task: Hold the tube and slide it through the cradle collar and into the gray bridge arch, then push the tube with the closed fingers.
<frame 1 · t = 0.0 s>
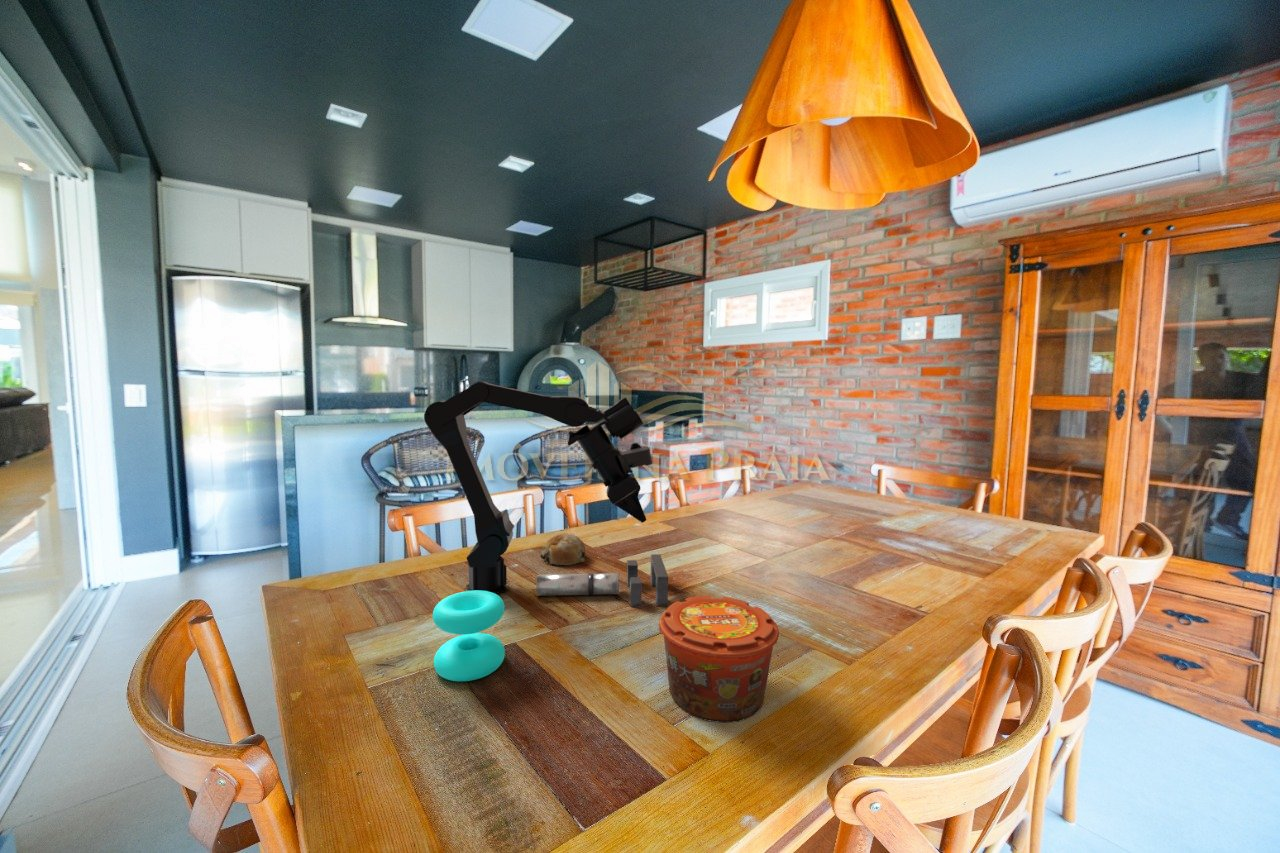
hand: (641, 515, 106), 15 cm above the table, tool tilted 35°, fingers open, 9 cm apart
donuts: (470, 667, 76), on the table
tube: (578, 594, 102), on the table
cradle collar: (633, 592, 103), on the table
food container: (716, 694, 71), on the table
gray bridge arch: (658, 592, 104), on the table
bread roll: (563, 560, 122), on the table
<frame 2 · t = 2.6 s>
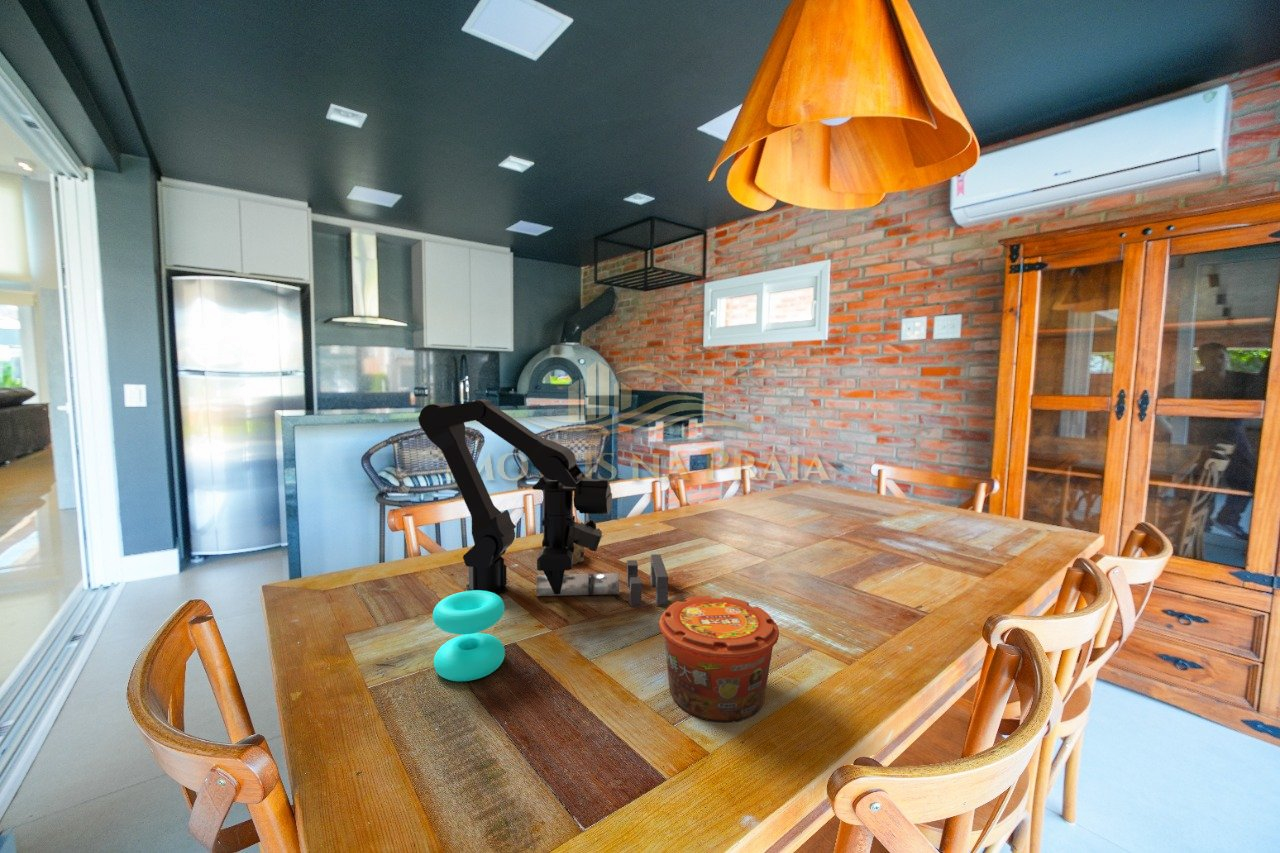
hand: (558, 589, 102), 1 cm above the table, tool pointing down, fingers closed on tube, 4 cm apart
tube: (578, 594, 102), on the table, touching gripper
everything else where it was.
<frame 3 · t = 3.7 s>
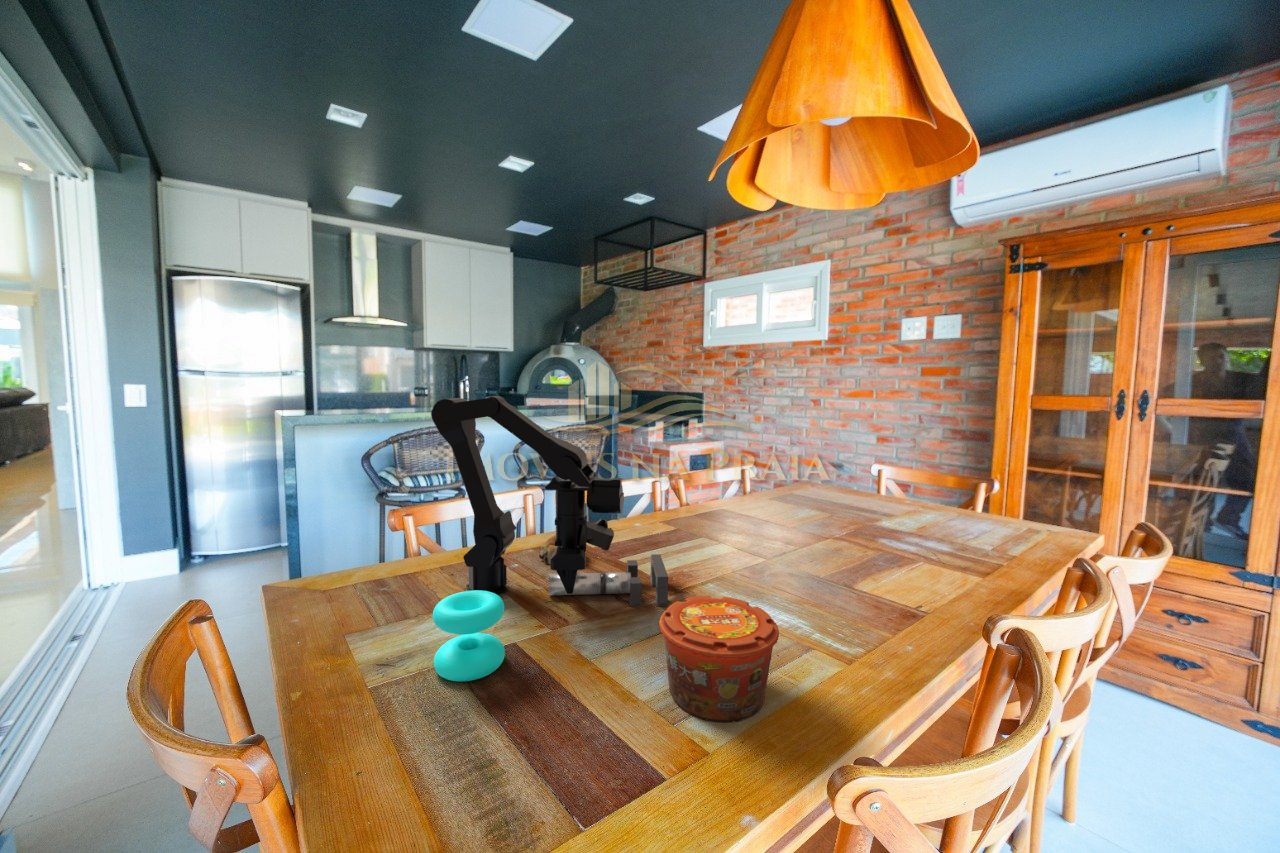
hand: (570, 589, 102), 1 cm above the table, tool pointing down, fingers closed on tube, 4 cm apart
tube: (590, 593, 103), on the table, touching gripper
everything else where it was.
when the fingers open (1 cm above the table, at t = 5.1 s): tube stays where it is, on the table.
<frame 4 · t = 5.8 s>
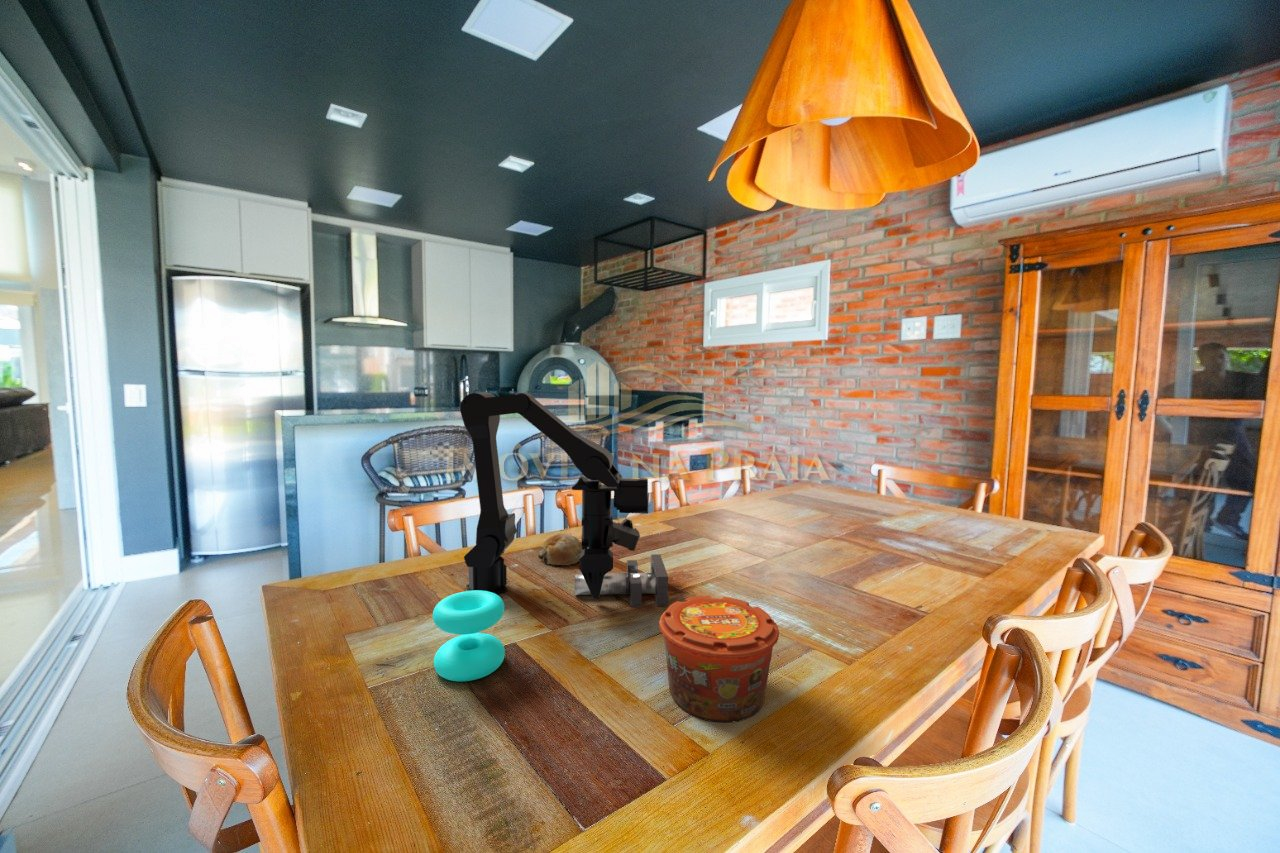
hand: (596, 588, 103), 1 cm above the table, tool pointing down, fingers open, 9 cm apart
tube: (615, 593, 103), on the table
everything else where it was.
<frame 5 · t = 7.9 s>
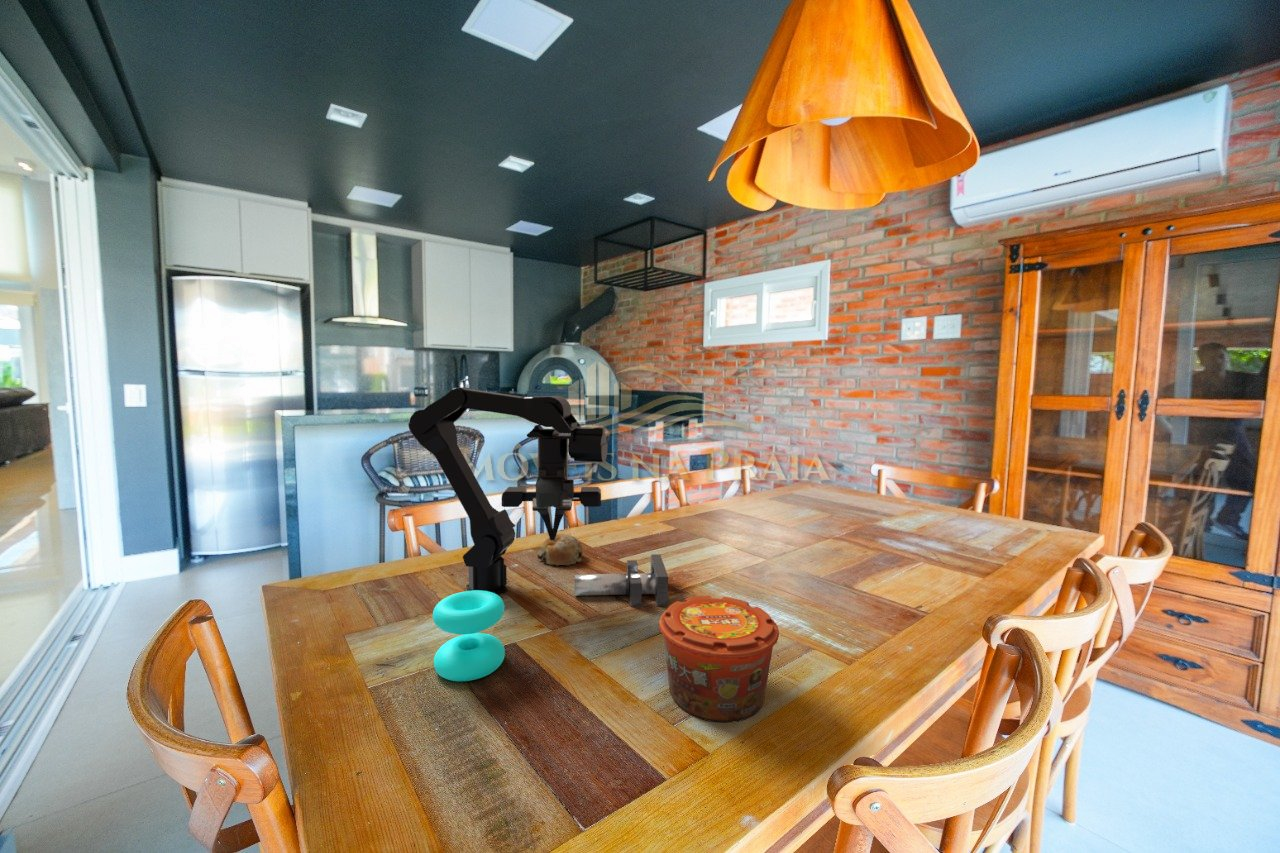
hand: (552, 539, 101), 11 cm above the table, tool pointing down, fingers closed
tube: (615, 593, 103), on the table, tilted 10°
everything else where it was.
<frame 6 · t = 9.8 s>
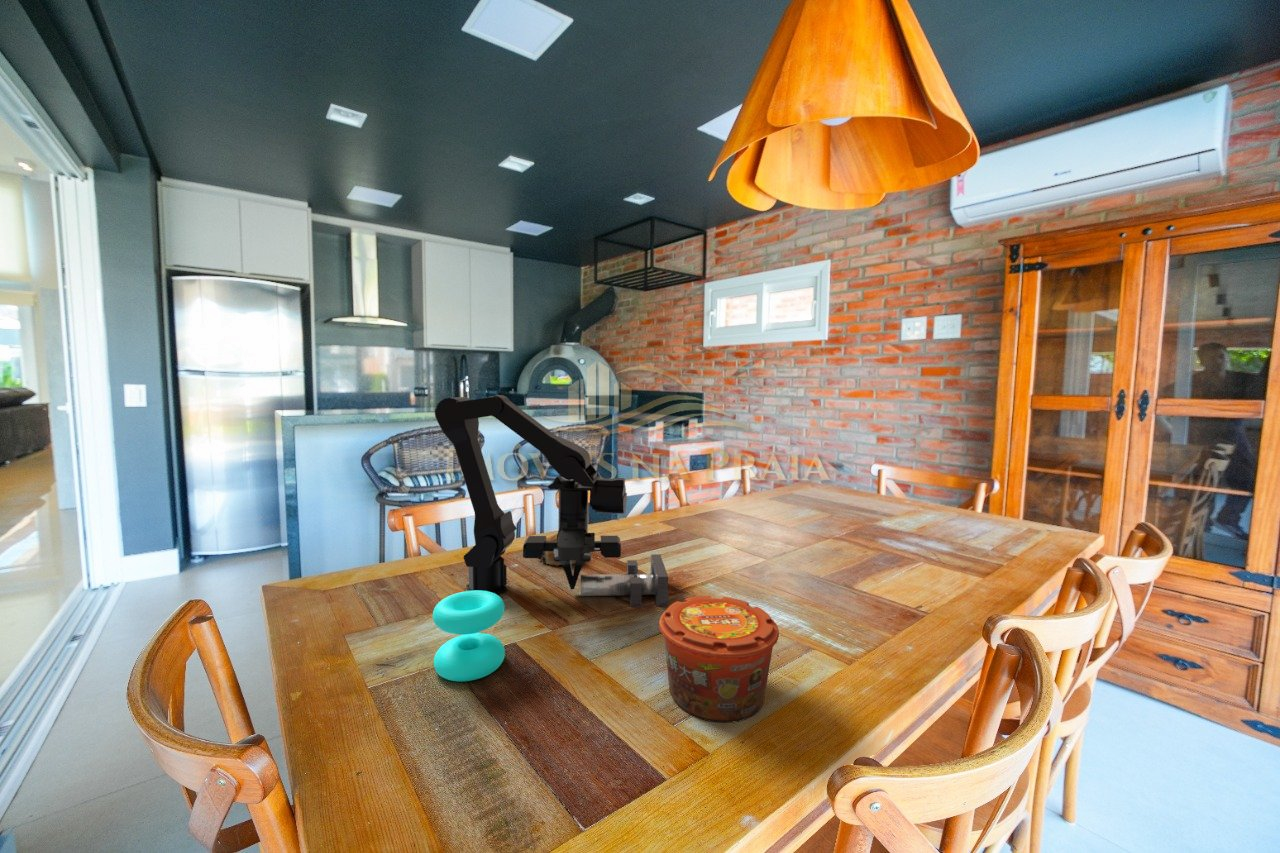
hand: (572, 588, 102), 1 cm above the table, tool pointing down, fingers closed
tube: (621, 592, 103), on the table, tilted 19°, touching gripper
everything else where it was.
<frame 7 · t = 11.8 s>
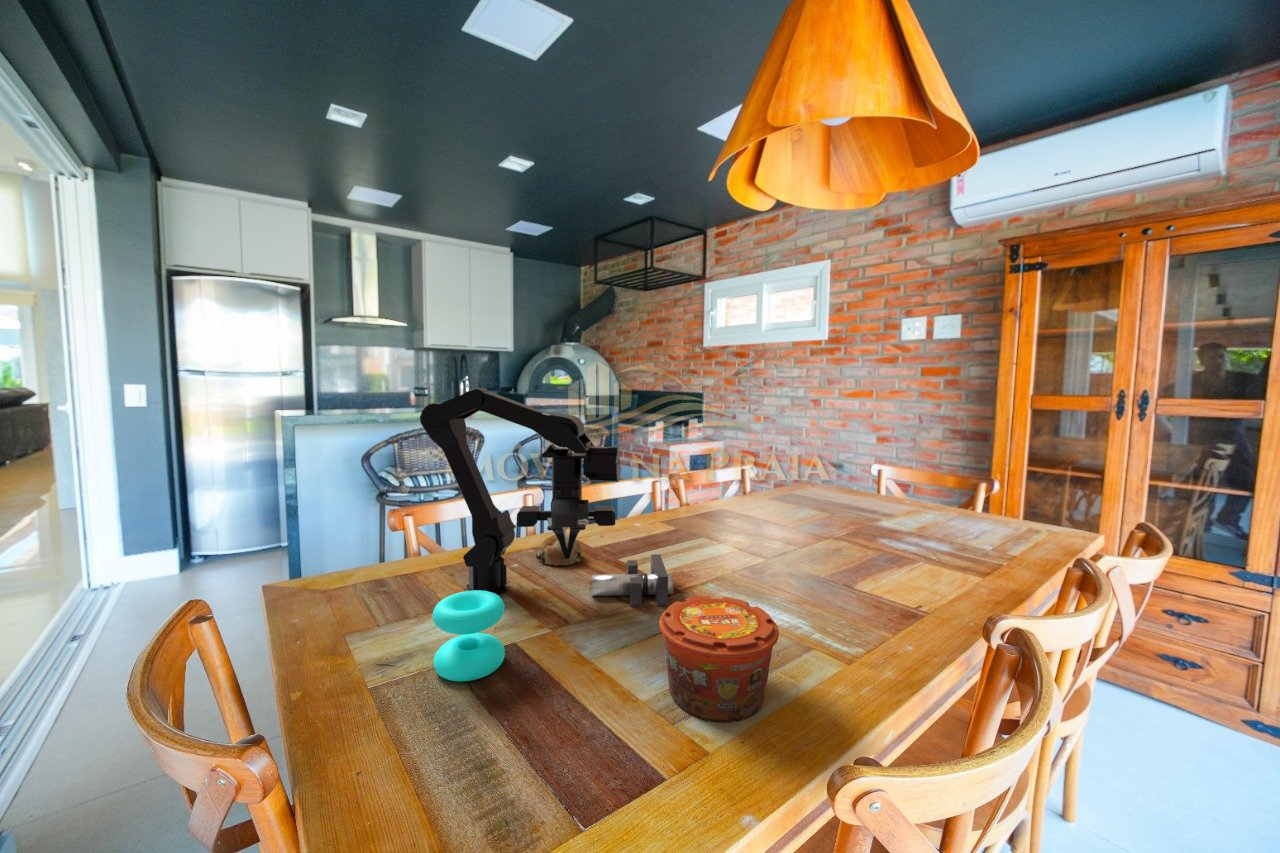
hand: (567, 558, 102), 7 cm above the table, tool pointing down, fingers closed
tube: (631, 592, 103), on the table, tilted 19°
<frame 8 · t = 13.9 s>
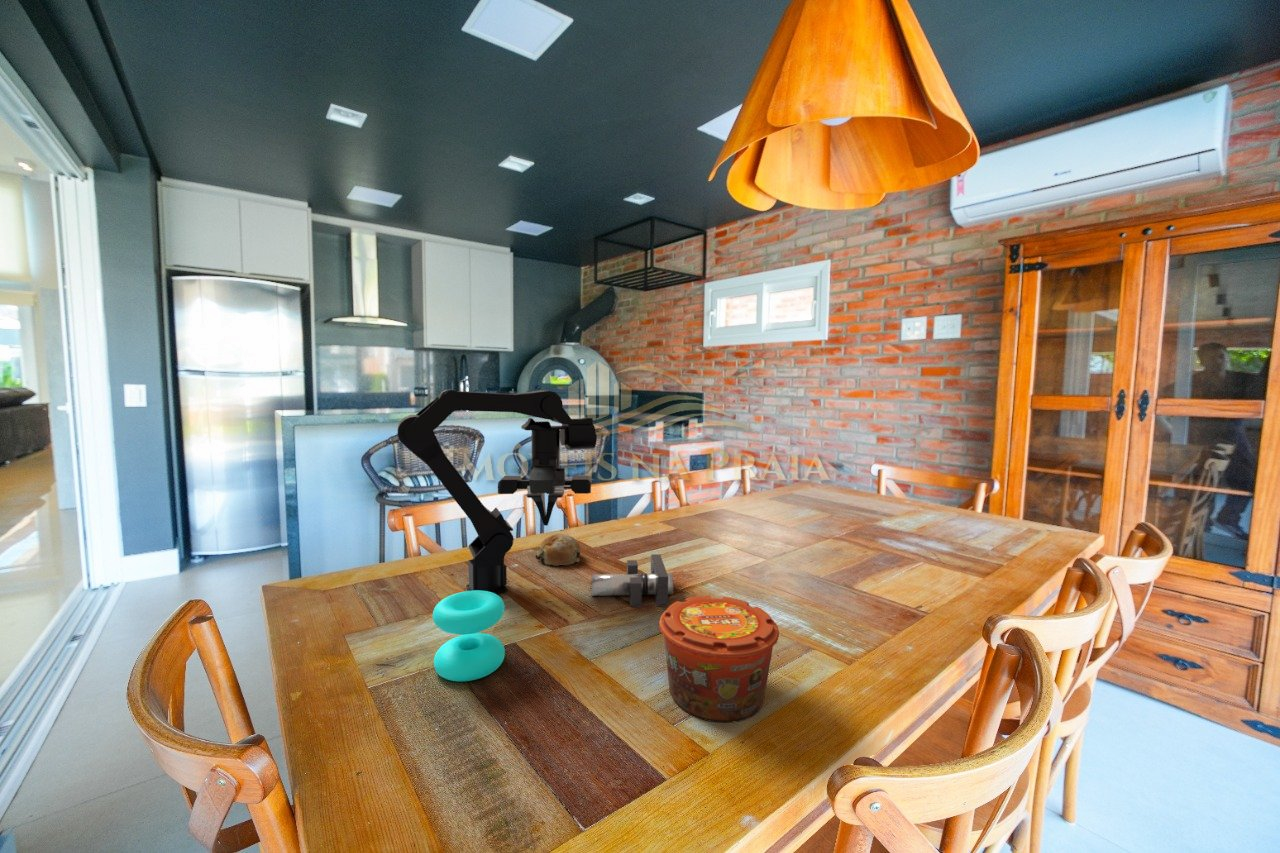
hand: (545, 525, 108), 12 cm above the table, tool pointing down, fingers closed
at the end: tube 0.4 cm off-centre on the cradle collar, point 0.1 cm above the cradle collar's base; tube moved 10.6 cm from its start; tube on the table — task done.
